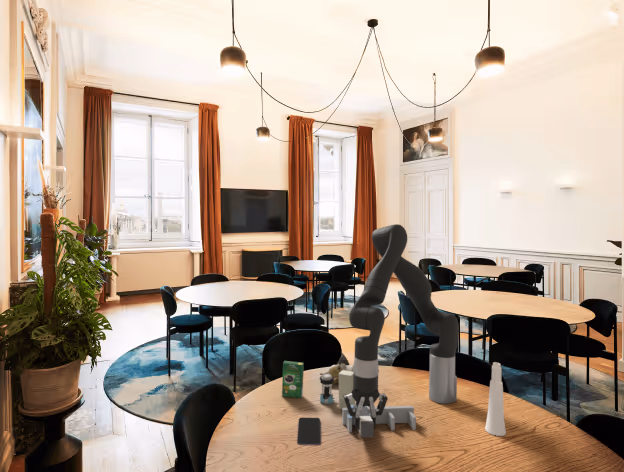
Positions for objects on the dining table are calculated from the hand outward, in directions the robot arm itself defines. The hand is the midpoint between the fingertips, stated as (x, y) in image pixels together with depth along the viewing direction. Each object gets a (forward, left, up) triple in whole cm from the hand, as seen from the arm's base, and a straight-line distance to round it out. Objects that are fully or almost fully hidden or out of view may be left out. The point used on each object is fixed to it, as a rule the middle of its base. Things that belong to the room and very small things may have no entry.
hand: (364, 428), depth 113 cm
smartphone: (+16, -7, -5) cm, 18 cm away
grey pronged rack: (-7, -8, -4) cm, 12 cm away
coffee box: (+20, -32, -4) cm, 39 cm away
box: (+1, -21, -4) cm, 22 cm away
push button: (+7, -26, -4) cm, 28 cm away
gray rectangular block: (0, -2, -1) cm, 3 cm away
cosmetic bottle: (-44, -2, -4) cm, 44 cm away
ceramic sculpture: (0, -45, -4) cm, 45 cm away
